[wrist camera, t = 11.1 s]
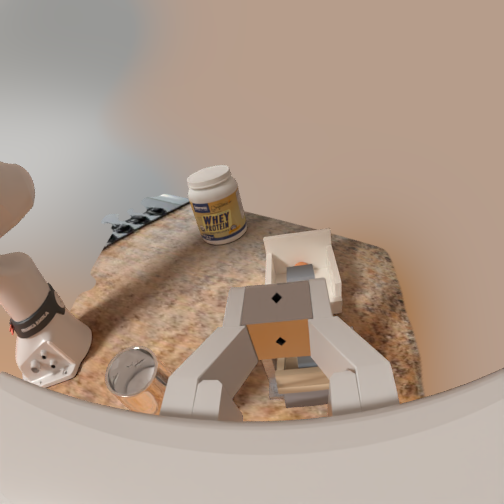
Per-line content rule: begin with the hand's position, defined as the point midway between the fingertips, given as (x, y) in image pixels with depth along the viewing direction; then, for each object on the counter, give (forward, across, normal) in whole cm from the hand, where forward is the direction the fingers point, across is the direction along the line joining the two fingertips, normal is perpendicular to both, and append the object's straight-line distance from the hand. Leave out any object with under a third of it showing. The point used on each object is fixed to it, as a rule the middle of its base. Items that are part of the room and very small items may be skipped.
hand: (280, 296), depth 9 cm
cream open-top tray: (+30, -1, +30) cm, 42 cm away
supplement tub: (+55, +18, +30) cm, 65 cm away
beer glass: (+6, +17, +30) cm, 35 cm away
